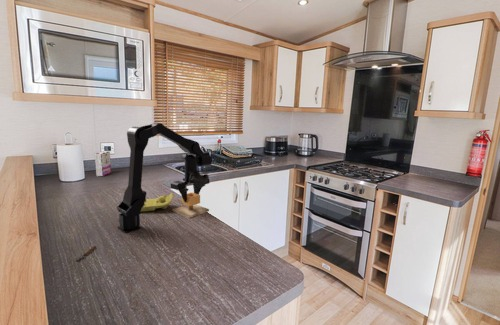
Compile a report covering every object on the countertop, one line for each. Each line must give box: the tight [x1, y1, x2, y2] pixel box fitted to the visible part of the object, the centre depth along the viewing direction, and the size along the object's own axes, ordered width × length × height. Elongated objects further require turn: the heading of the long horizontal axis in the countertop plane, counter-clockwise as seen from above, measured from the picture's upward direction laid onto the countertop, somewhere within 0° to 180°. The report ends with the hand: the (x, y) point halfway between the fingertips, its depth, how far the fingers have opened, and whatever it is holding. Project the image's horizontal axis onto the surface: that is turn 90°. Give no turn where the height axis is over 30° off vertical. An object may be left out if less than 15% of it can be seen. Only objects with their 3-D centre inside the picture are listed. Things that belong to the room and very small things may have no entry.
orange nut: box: [181, 191, 201, 206], centre depth 125 cm, size 6×6×4 cm
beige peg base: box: [172, 204, 210, 219], centre depth 126 cm, size 12×12×5 cm
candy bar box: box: [94, 150, 112, 177], centre depth 188 cm, size 11×5×16 cm, turn 179°
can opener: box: [74, 245, 97, 263], centre depth 85 cm, size 9×2×1 cm, turn 171°
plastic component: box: [140, 192, 174, 213], centre depth 128 cm, size 20×7×10 cm
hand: (190, 200), depth 125 cm, fingers closed on orange nut, 6 cm apart
